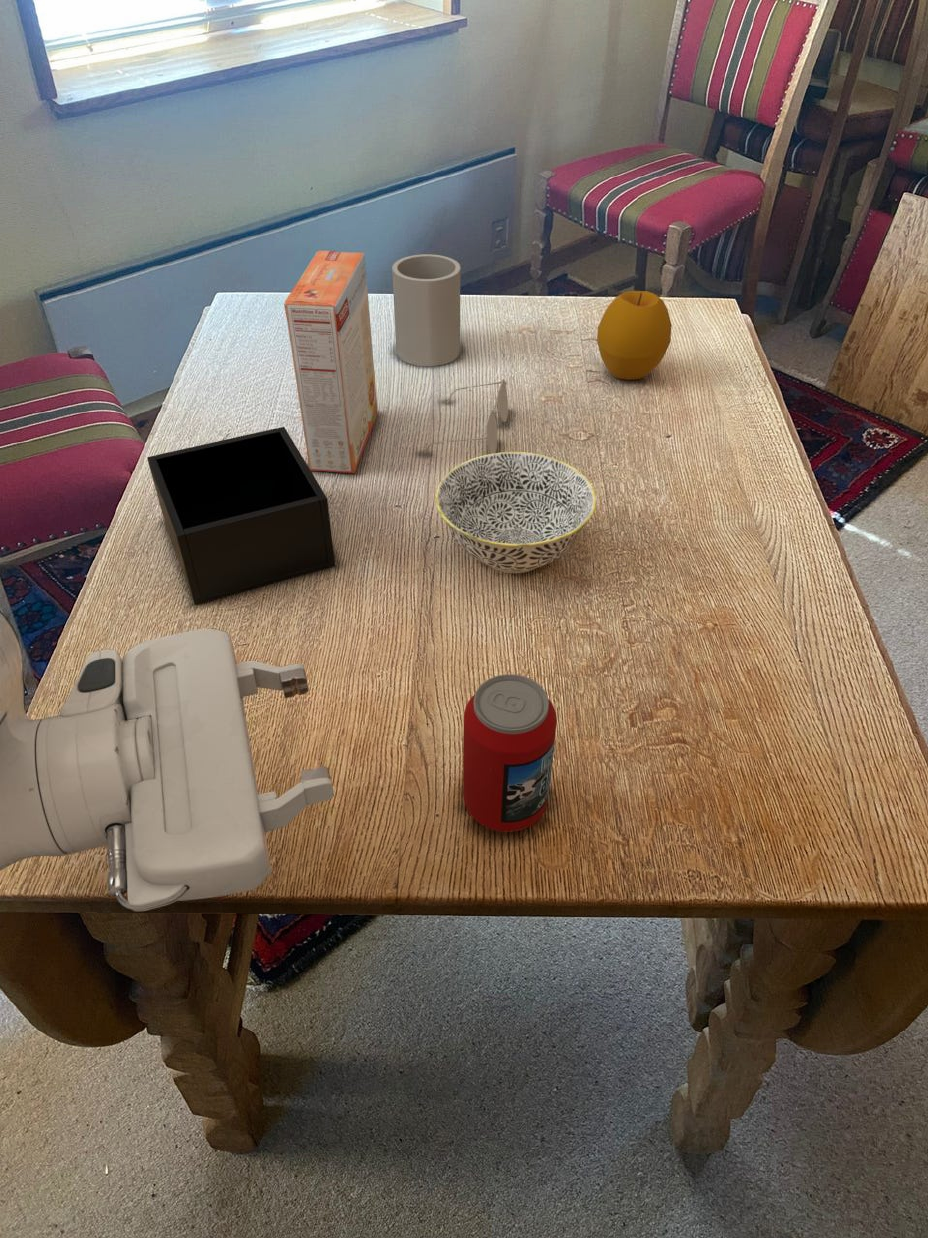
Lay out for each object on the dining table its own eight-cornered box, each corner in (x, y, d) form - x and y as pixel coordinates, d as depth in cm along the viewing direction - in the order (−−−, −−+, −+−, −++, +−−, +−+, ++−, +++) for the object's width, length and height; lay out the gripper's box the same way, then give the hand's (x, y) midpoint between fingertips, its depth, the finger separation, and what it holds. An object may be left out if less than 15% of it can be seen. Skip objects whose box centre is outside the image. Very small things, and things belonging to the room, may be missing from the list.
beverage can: (533, 849, 69) (543, 749, 61) (450, 823, 71) (449, 722, 63) (557, 781, 74) (570, 680, 66) (479, 758, 75) (482, 657, 67)
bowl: (477, 621, 88) (478, 561, 83) (413, 531, 98) (411, 472, 93) (617, 576, 93) (626, 517, 88) (542, 495, 103) (546, 437, 98)
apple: (619, 400, 119) (631, 314, 111) (577, 369, 125) (586, 286, 117) (678, 382, 123) (693, 298, 115) (634, 353, 129) (646, 271, 121)
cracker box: (333, 411, 117) (316, 247, 102) (379, 415, 116) (368, 250, 102) (304, 472, 107) (281, 298, 92) (354, 476, 106) (338, 302, 92)
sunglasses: (491, 465, 108) (485, 428, 104) (424, 466, 110) (416, 430, 107) (510, 407, 118) (506, 371, 114) (448, 409, 120) (442, 375, 117)
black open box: (194, 605, 89) (176, 536, 83) (165, 524, 99) (146, 456, 93) (335, 566, 94) (327, 497, 88) (294, 492, 103) (284, 426, 98)
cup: (459, 366, 126) (460, 281, 118) (394, 365, 126) (390, 280, 118) (460, 337, 132) (460, 254, 124) (398, 336, 133) (394, 253, 124)
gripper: (92, 889, 49) (344, 826, 52) (91, 635, 63) (288, 596, 66) (123, 945, 53) (353, 884, 56) (115, 695, 67) (299, 656, 70)
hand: (318, 726), depth 61 cm, fingers open, 8 cm apart
